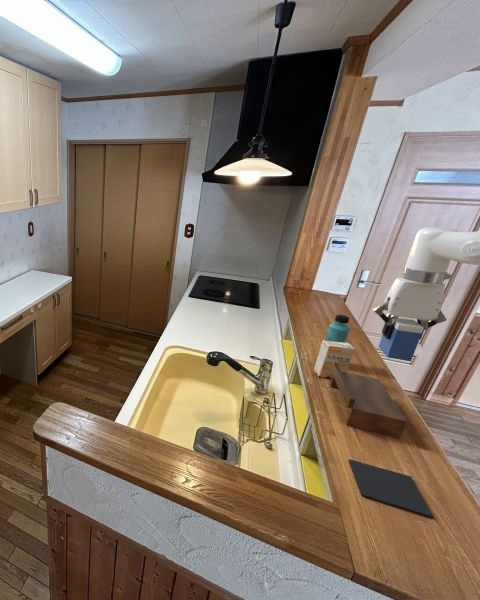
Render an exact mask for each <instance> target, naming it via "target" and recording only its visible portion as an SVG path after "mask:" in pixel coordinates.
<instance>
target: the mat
mask: <svg viewBox="0 0 480 600" xmlns="http://www.w3.org/2000/svg"><path fill="white" fill-rule="evenodd" d="M348 464H349V466H350V469H351V471H352V474H353V477H354V480H355V482H356V485H357V488H358V490H359V493H360V495H361V497H363V498H367V499H368V500H372V501H375V502H378V503H382V504H384V505H388V506H391V507H395V508H398V509H401V510H404V511H407V512H411V513H413V514H416V515H420V516H423V517H426V518H429V519H432V520H433V518H434V514H433V513H432V511H431V509H430V507H429V506H428V504H427V503H426V501H425V499H424V497H423V496H422V493H421V491H420V490H419V488H418V486H417V485H416V483H415V481H414V479H413V478H412V476H411V475H407V474H403V473H400V472H396V471H393V470H390V469H386V468H382V467H379V466H375V465H371V464H369V463H365V462H361V461H357V460H354V459H350V458H349V459H348Z"/></svg>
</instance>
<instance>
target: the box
mask: <svg viewBox="0 0 480 600" xmlns="http://www.w3.org/2000/svg"><path fill="white" fill-rule="evenodd" d="M393 326H394V329H393V332H392V335H391V338H390V339H386V338H385V337H384V335H383V334H382V335H381V338H380V341H379V344H378V348H379V349H380V350H381V352H382V353H383V354H384V355H385V356H386V358H387V359H388V358H389V359H395V360H399V361H400V360H401V361H406V362H412V360H413V357H414V355H415V352H416V349H417V347H418V344H419V342H420V340H421V339H420V337H421V334H422V332H423V329H424V328H423V327H422V326H421V325H420V324H418V323H417V320H416V319H414V318H406V317H398V318H397V320H396V321H395V322H394V323H393ZM423 333H424V332H423ZM421 338H422V337H421ZM419 339H420V340H419Z"/></svg>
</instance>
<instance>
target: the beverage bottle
mask: <svg viewBox="0 0 480 600" xmlns="http://www.w3.org/2000/svg"><path fill="white" fill-rule="evenodd" d="M334 321H335V322H331V323H330V324H329V326H328V329H327V332H326V335H325V338H324V340H325V341H334V342H343V343H347V340H348V337H349V333H350V330H351V328H350V327H349V326H348V325H347V324H349V322H350V317H349V316H347V315H346V314H345V315H344V314H336V315H335V318H334Z"/></svg>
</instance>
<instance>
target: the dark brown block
mask: <svg viewBox="0 0 480 600" xmlns="http://www.w3.org/2000/svg"><path fill="white" fill-rule="evenodd" d="M330 370H331V372H332V375H333V376H332V378H330V379H331V380H330V383H329V387H330V388H332V389H333V388H334V389H338V390H339V392H340V394H341V397H342V399H343V401H344V403H345V405H346V408H349V411H348V415H347V418H346V420H345V425H346V426H347V427H352V428H356V429H359V430H364V431H366V432H367V431H368V432H371V433H376V434H380V435H384V436H388V437H392V438H396V439H398V440H399V439H401V437H402V434H403V432H404V430H405V428H406V425H407V424H408V420H407V418H406V417H405V416H404V414H403V412H402V411H401V410H400V408H399V406H398V405H397V404H396V402H395V401H394V399H393V398H392V397H391V395H390V394H389V392H388V390H387V389H386V388H385V386H384V384H383V383H382V381H381V380H380V379H379V378H374V377H369V376H365V375H359V374H354V373H349V372H347V373H345V372H341V371H340V369H339V367H338V365H337V363H334V362H332V365H331V368H330ZM330 385H331V386H330ZM332 386H333V387H332Z"/></svg>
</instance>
